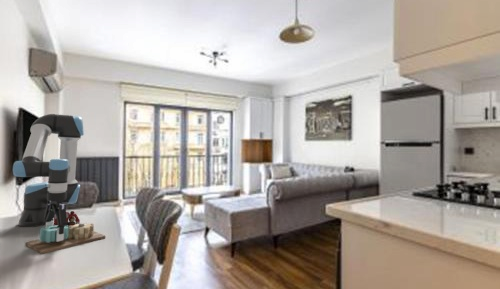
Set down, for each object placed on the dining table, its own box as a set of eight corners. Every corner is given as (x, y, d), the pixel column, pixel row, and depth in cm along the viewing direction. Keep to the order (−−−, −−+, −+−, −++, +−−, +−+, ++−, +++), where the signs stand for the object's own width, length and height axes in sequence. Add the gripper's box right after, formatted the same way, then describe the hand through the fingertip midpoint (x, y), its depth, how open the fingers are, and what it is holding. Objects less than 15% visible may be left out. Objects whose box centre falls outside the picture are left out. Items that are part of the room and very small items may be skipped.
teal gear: (61, 233, 135) (62, 223, 135) (72, 238, 129) (73, 227, 129) (34, 238, 126) (35, 228, 126) (45, 244, 120) (46, 232, 120)
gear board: (25, 244, 125) (26, 229, 125) (88, 231, 149) (89, 218, 149) (41, 253, 116) (42, 237, 116) (105, 238, 140) (106, 224, 140)
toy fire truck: (80, 230, 150) (81, 211, 150) (53, 234, 141) (54, 214, 141) (77, 227, 155) (78, 209, 155) (51, 231, 146) (52, 211, 146)
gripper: (37, 189, 131) (34, 234, 131) (59, 195, 118) (56, 246, 118) (55, 187, 137) (52, 231, 137) (78, 194, 125) (74, 241, 124)
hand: (54, 238), depth 127 cm, fingers closed on teal gear, 11 cm apart
